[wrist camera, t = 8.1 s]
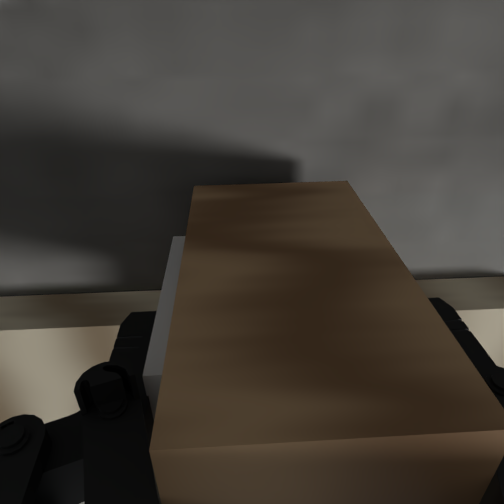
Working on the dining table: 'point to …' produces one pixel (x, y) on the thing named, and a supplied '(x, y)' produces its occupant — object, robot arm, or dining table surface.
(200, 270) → the brown block with tab
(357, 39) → the dining table surface
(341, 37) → the dining table surface
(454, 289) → the board
